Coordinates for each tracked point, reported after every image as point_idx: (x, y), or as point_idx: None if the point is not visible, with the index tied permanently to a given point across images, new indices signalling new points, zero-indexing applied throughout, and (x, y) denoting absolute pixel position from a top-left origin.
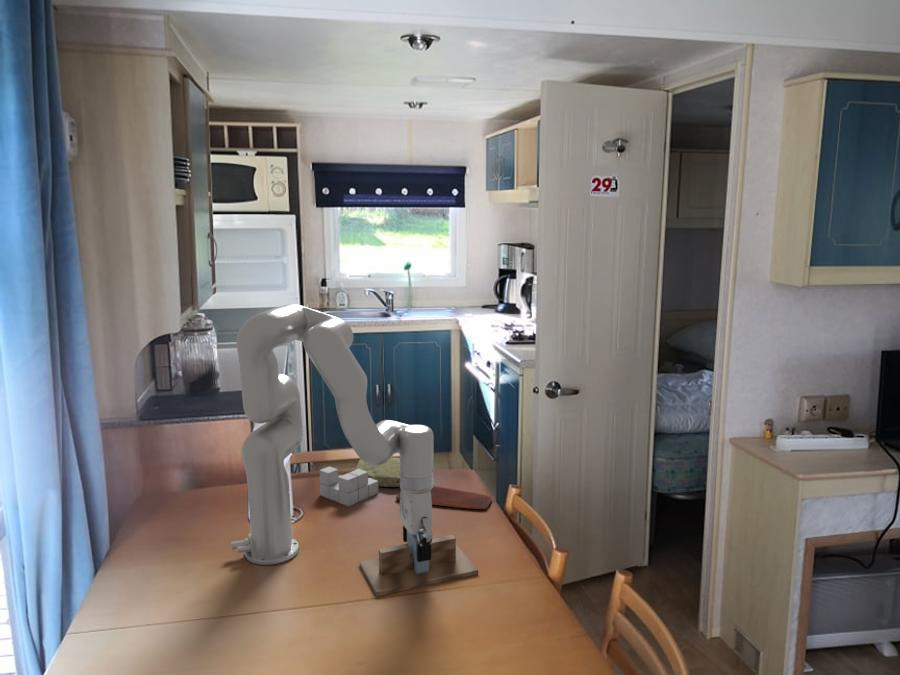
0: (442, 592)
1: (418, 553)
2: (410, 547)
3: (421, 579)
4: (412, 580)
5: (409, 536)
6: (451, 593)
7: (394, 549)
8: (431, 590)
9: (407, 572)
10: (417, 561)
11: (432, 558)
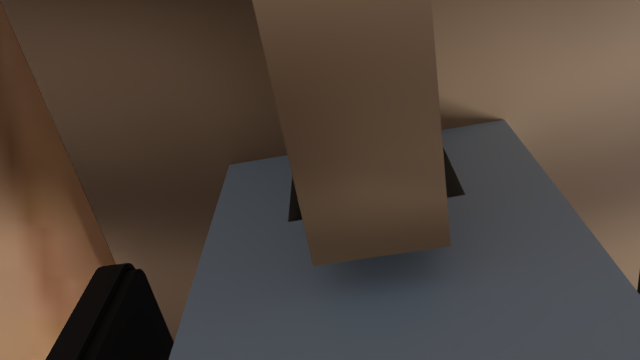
0: (13, 284)
1: (62, 352)
2: None
3: (128, 188)
4: (114, 112)
5: (513, 350)
6: (3, 330)
7: (292, 18)
8: (38, 222)
9: (268, 88)
10: (209, 243)
11: None
